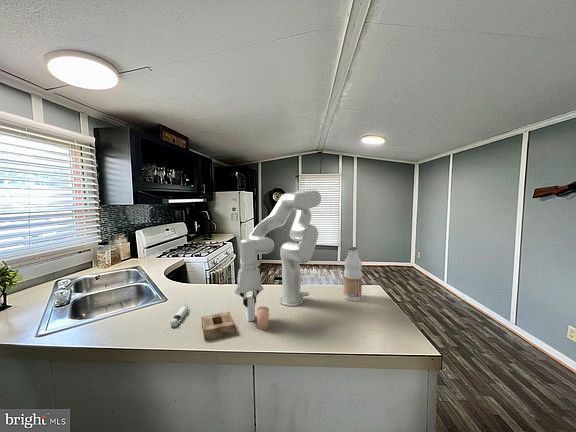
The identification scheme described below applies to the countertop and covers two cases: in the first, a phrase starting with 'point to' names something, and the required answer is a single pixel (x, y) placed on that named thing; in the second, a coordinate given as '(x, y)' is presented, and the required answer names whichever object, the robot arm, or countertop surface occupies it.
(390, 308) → the countertop surface
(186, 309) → the white long slotted part
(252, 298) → the flat bar peg
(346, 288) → the fruit juice
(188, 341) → the countertop surface
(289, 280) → the robot arm
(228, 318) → the slot block
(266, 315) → the round peg
